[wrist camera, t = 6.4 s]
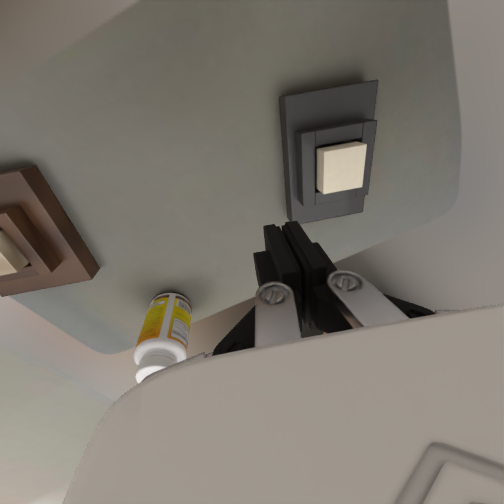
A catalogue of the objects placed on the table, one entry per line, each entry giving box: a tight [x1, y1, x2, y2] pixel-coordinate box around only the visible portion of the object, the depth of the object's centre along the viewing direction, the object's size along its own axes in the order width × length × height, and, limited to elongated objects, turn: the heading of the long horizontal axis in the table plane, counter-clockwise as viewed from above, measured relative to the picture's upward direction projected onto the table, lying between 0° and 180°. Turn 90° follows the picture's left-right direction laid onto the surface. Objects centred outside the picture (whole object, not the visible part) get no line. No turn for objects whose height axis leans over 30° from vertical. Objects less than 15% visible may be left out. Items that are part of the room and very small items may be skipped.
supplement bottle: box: [134, 293, 192, 383], centre depth 28 cm, size 6×6×10 cm
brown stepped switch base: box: [0, 165, 100, 297], centre depth 23 cm, size 12×10×4 cm
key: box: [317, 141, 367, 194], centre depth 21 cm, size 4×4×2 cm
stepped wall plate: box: [279, 80, 378, 224], centre depth 23 cm, size 12×8×4 cm, turn 8°
